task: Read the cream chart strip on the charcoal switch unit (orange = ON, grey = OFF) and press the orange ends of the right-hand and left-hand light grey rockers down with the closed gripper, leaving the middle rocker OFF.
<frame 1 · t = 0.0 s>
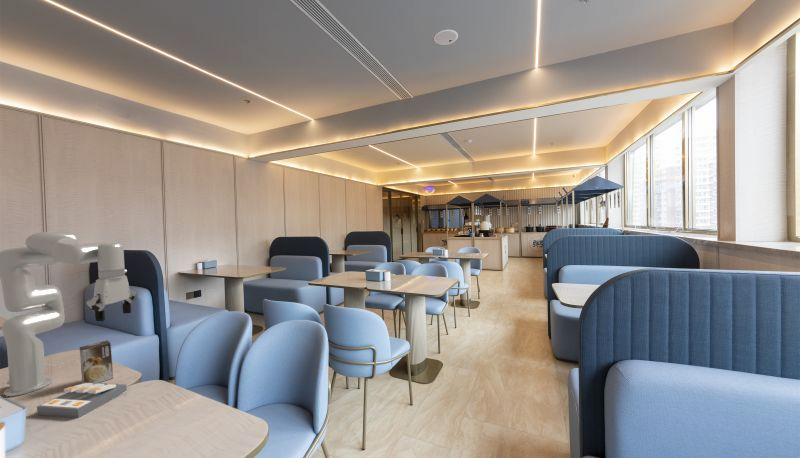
hand: (114, 316, 118), 31 cm above the table, tool pointing down, fingers open, 9 cm apart
rocker c: (102, 388, 115), point 5 cm above the table, hinge at -12.0°
rocker b: (90, 387, 116), point 5 cm above the table, hinge at -12.0°
rocker a: (78, 387, 116), point 5 cm above the table, hinge at -12.0°
switch unit: (84, 402, 114), on the table
coffee box: (97, 381, 130), on the table
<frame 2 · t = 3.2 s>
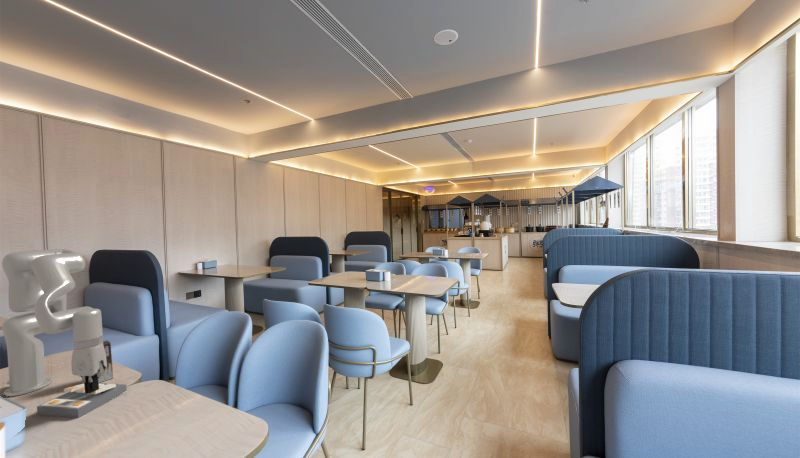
hand: (92, 391, 111), 6 cm above the table, tool pointing down, fingers closed
rocker c: (102, 388, 115), point 5 cm above the table, hinge at -9.9°, touching gripper
everything else where it was.
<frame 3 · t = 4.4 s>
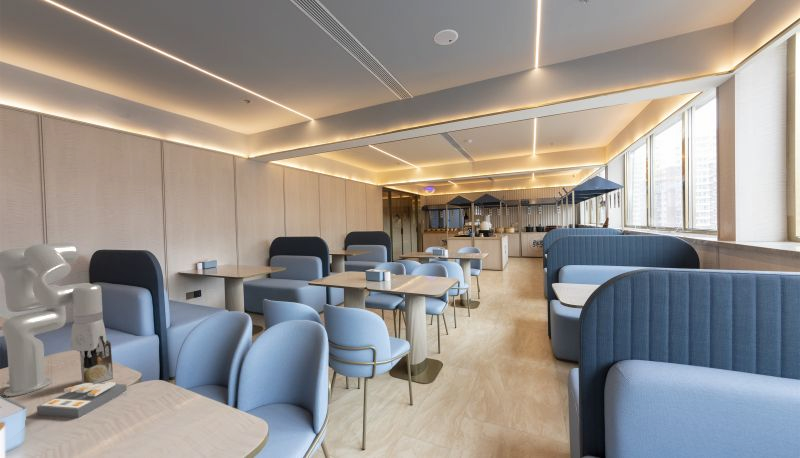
hand: (91, 366, 111), 15 cm above the table, tool pointing down, fingers closed
rocker c: (101, 388, 115), point 5 cm above the table, hinge at 5.6°
everything else where it was.
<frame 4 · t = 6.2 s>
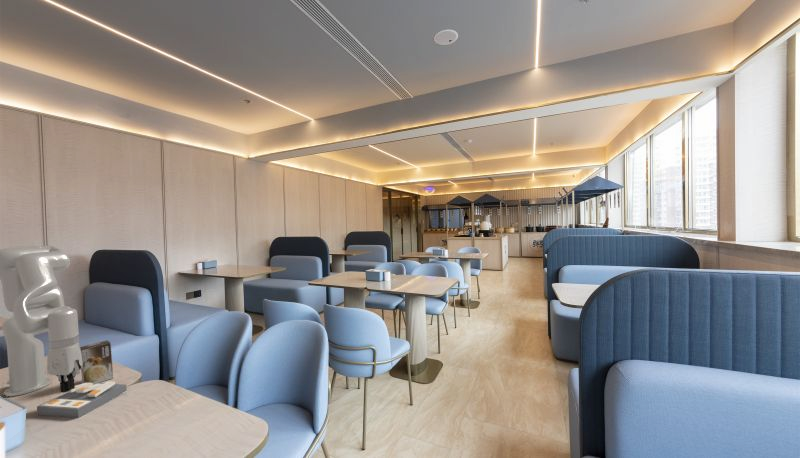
hand: (67, 390, 113), 6 cm above the table, tool pointing down, fingers closed
rocker c: (101, 388, 115), point 5 cm above the table, hinge at 11.1°
rocker a: (78, 387, 116), point 5 cm above the table, hinge at -9.4°, touching gripper
everything else where it was.
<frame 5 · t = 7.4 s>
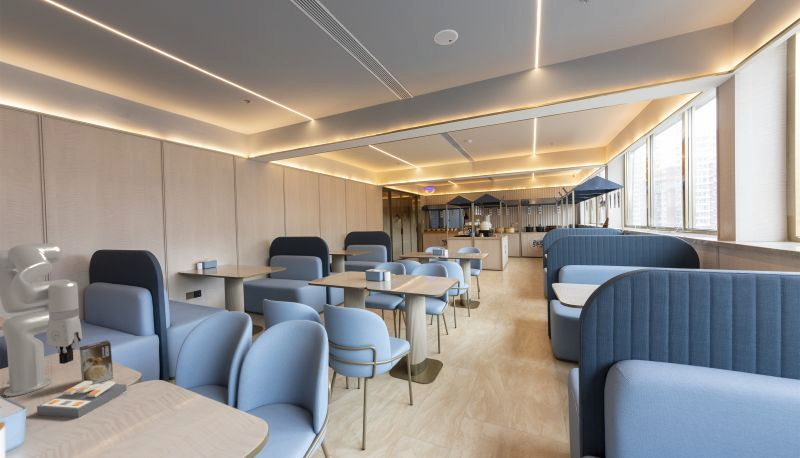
hand: (66, 362, 113), 16 cm above the table, tool pointing down, fingers closed
rocker c: (101, 388, 114), point 5 cm above the table, hinge at 12.0°
rocker a: (78, 387, 116), point 5 cm above the table, hinge at 4.6°
everything else where it was.
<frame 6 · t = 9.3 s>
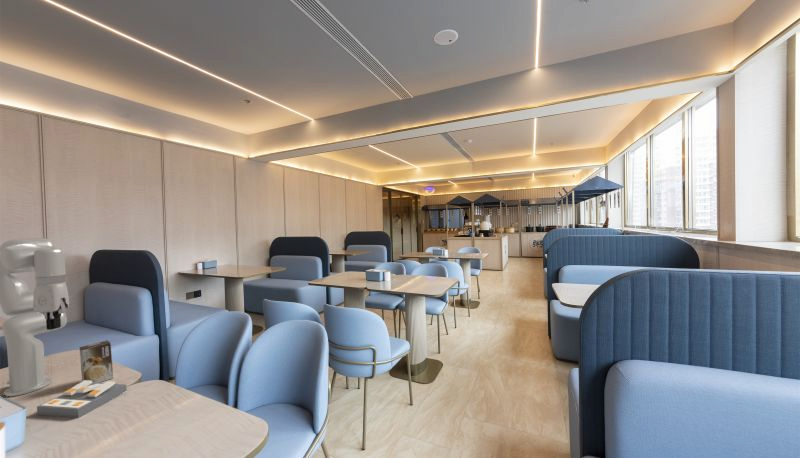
hand: (53, 328, 113), 29 cm above the table, tool pointing down, fingers closed
rocker c: (101, 388, 114), point 5 cm above the table, hinge at 12.3°
rocker a: (78, 387, 116), point 5 cm above the table, hinge at 9.3°
everything else where it was.
at the end: rocker a at +9° (first picture: -12°); rocker b at -12° (first picture: -12°); rocker c at +12° (first picture: -12°) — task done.
